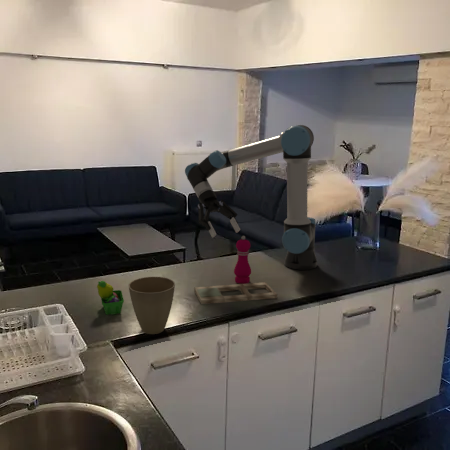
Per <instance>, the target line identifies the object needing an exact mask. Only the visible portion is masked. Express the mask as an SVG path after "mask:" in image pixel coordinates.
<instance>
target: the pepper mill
mask: <svg viewBox="0 0 450 450" xmlns="http://www.w3.org/2000/svg"><path fill="white" fill-rule="evenodd" d="M235 247H236V249H237V250H236V251H237V252H236V255H237V262H236V264H235V266H234V270H233V274H234V275H235V277H234V282H235V283H237V284H249V283H250V281H251V278H250V275H251V274H252V268H251V266H250V264H249V257H248V256H249V255H250V249H251V242H250V241H249V240H248V239H246V236H245V235H242V236H241V239H239V240H237V242H236V244H235Z"/></svg>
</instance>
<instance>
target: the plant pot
mask: <svg viewBox="0 0 450 450" xmlns="http://www.w3.org/2000/svg"><path fill="white" fill-rule="evenodd" d="M175 286H176V283H175V281H174V280H173V279H171V278H168V277H164V276H163V277H162V276H145V277H140V278H139V277H138V278H137V279H134V280H132V281H131V282H129V283H128V289H129V290H128V291H129V296H130V301H131V305H132V308H133V310H134V311H133V312H134V314H135V318H136V319H137V323H138V324H139V327H140V329H141V331H142V332H143V333H144V334H147V335H155V334H156V335H157V334H161V333H162V332H164V331H165V329H166V326H167V323H168V319H169V317H170V314H171V310H172V306H173V300H174V294H175Z"/></svg>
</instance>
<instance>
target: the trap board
mask: <svg viewBox="0 0 450 450" xmlns="http://www.w3.org/2000/svg"><path fill="white" fill-rule="evenodd" d="M193 289H194V293H195V295H196V297H197V299H198V301H199V303H200V304H201V305H208V304H219V303H220V304H221V303H233V302H243V301H244V302H245V301H246V302H247V301H257V300H267V299H270V300H271V299H277V298H278V294H277V292H275V290H274V288H272V287H271V286H270V285H269V284H268V283H267V282H265V281H264V282H254V283H253V282H251V283H250V282H249V283H246V284H239V283H237V284H225V285H222V284H221V285H211V286H210V285H209V286H197V287H196V286H195V287H194V288H193ZM256 289H266V290H267V292H259V293H251V292H250V291H249V290H256ZM229 291H240V293H241V294H234V295H233V294H232V295H223V294H222V292H229Z"/></svg>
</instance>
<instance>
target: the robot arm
mask: <svg viewBox="0 0 450 450" xmlns="http://www.w3.org/2000/svg"><path fill="white" fill-rule="evenodd" d="M314 139H315V135H314V133H313V130H312V129H311V128H310V127H308V126H306V125H303V124H298V125H297V124H296V125H292V126H290V127H288V128H287V129H285V131H283V132H281V133H280V134H279V135H277V136H273V137H270V138H266V139H262V140H259V141H256V142H252V143H250V144H246V145H243V146H239V147H236V148H232V149H231V148H230V149H228V150H224V151H220V150H218V149H217V150H214V151H213V152H211V153H210V154H209V155H207V157H205V158H204V159H203V160H202V161H201V162H200V163H198V162H192V163H191V164H188V165H187V166H186V167H185V168H184V174H185V176H186V179H187V181H188V183H189V184H190V186H191V187H192V189H193V192H194V193H195V195H196V196H197V199H198V201H199V203H198V204H197V206H196V208H197V209H198V224H199V225H202V226H203V227H205V229H206V231H208V233H209V234H210V236H211V238H215V236H217V233H216V230H215V228H214V227H213V225H212V223H211V221H209V217H210V215H211V213H220V214H221V215H223V216H225V217H226V218H228V219H229V222H230V224H231V226H232V228H233V230H234V232H235V233H239V232H240V231H241V228H240V226H239V222H238V220H237V219H236V217H237V216H238V213H237V212H236V211H235V210H233V208H231V207H230V206H229V205H228V204H227V203H226V201H225V200H224V199H221V200H220V201H219V200H218V198H217V195H216V193H215V191H214V190H213V187H212V186H211V184H210V182H209V180H208V179H209V178H210V177H211V176H212V175H214V174H215V173H216V172H218V171H220V170H223V169H227V168H230V167H234V166H237V165H241V164H244V163H249V162H252V161H255V160H259V159H263V158H267V157H271V156H273V155H278V154H283V155H282V156H283V160H284V161H285V162H286V195H287V196H286V198H287V199H286V201H287V202H286V204H287V205H286V206H287V207H286V209H287V210H286V211H287V212H286V215H287V216H286V217H287V218H285V220H283V234H282V237H281V241H282V246H283V248H284V249H285V250H286V251H287V252H286V255H285V258H284V266H285V267H287V268H289V269H293V270H299V271H300V270H301V271H307V270H308V271H309V270H313V269H316V268H317V266H318V260H317V256H316V252H315V240H316V239H315V238H316V226H317V224H316V218H314V217H309V216H308V162H309V161H310V160H311V158H312V146H313V143H314ZM204 209H205V212H204Z"/></svg>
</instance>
